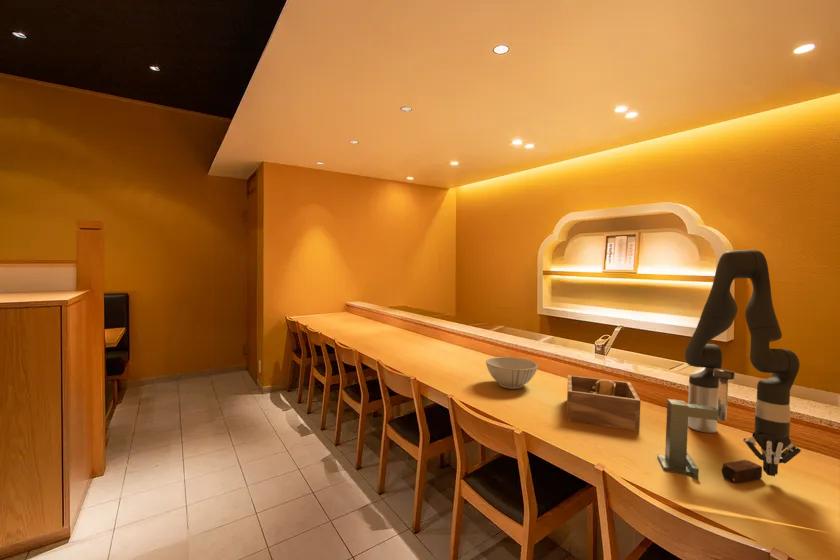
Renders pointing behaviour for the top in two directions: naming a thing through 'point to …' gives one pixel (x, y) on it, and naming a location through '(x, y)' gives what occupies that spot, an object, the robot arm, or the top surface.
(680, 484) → the top surface
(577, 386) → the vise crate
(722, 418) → the ram
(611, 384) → the armchair
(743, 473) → the brick
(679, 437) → the press frame
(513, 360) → the decorative bowl
